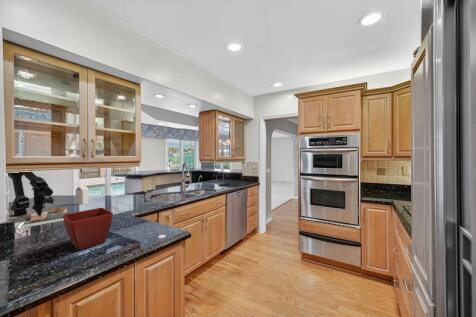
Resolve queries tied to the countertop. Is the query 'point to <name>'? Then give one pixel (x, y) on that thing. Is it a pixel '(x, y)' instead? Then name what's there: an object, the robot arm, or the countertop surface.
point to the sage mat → (43, 222)
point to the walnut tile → (57, 210)
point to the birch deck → (45, 213)
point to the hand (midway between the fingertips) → (39, 215)
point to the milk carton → (82, 195)
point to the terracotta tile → (38, 218)
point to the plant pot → (88, 227)
